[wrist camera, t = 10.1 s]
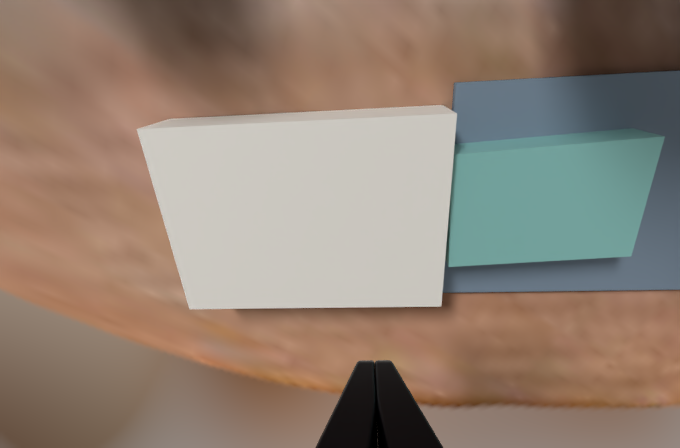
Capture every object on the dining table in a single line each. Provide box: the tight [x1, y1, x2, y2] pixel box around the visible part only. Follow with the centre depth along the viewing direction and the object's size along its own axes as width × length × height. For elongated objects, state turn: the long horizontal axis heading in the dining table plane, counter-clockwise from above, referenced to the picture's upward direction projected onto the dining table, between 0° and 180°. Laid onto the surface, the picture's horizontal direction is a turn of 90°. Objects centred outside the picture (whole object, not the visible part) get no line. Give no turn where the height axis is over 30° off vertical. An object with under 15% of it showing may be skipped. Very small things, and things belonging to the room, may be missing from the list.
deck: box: [137, 105, 457, 309], centre depth 19 cm, size 14×10×3 cm
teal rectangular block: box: [445, 128, 665, 267], centre depth 18 cm, size 9×6×2 cm, turn 96°
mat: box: [442, 70, 680, 293], centre depth 19 cm, size 16×12×1 cm
